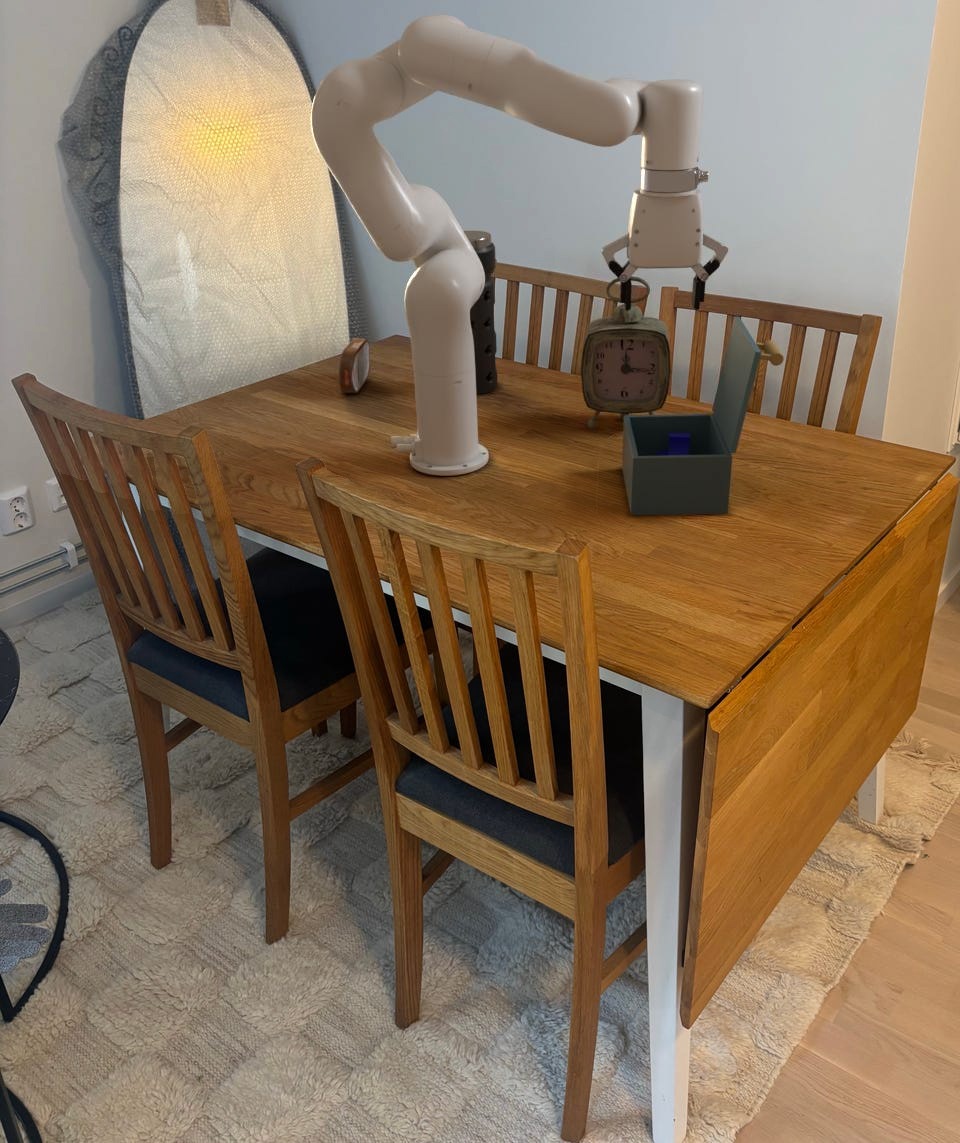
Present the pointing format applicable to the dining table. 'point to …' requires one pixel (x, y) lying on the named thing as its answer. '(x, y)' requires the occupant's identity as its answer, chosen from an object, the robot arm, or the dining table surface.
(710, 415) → the chest
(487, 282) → the muzzle brake
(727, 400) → the lid
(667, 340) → the tabletop clock
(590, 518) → the dining table surface
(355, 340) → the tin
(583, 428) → the dining table surface
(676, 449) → the blue stepped block
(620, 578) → the dining table surface
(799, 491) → the dining table surface
